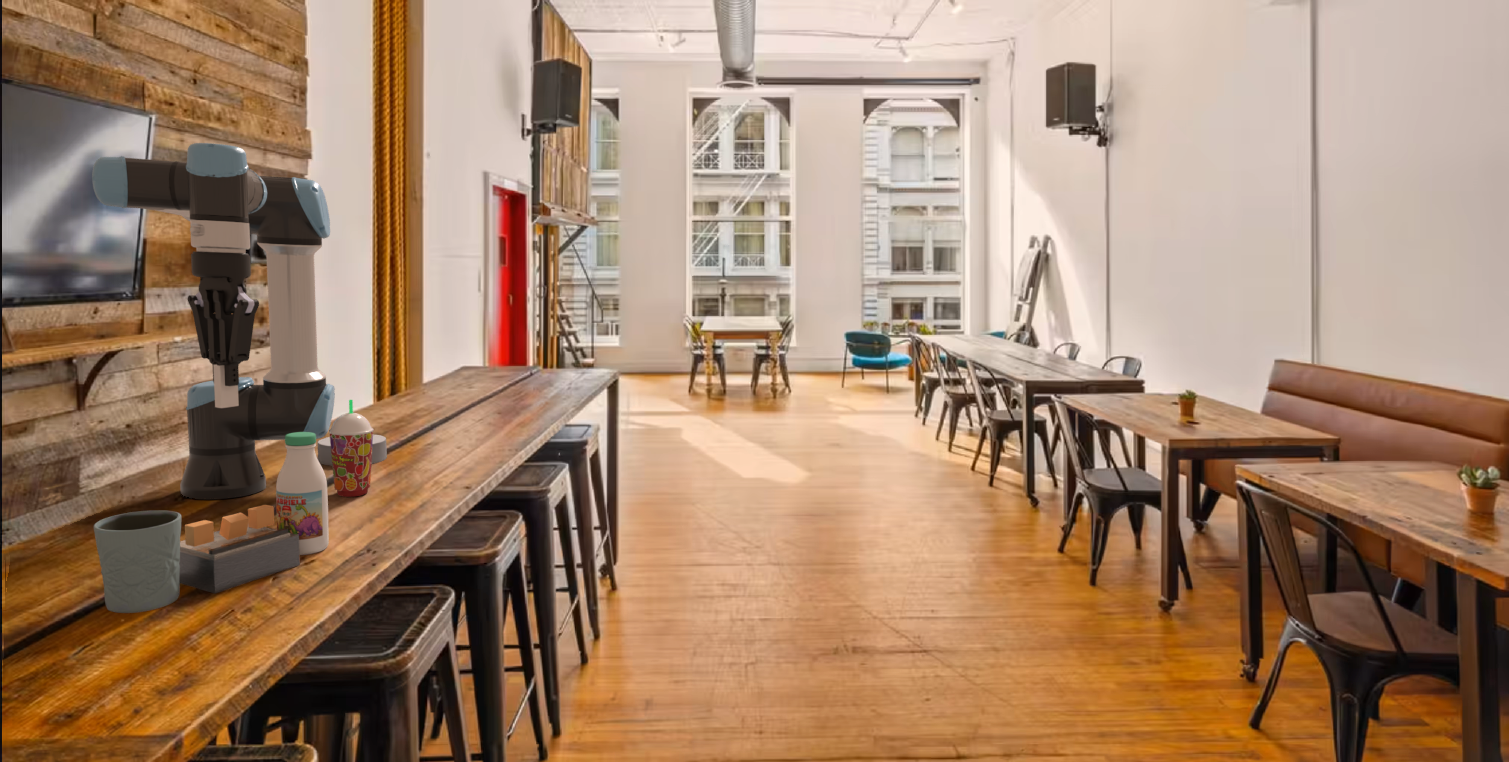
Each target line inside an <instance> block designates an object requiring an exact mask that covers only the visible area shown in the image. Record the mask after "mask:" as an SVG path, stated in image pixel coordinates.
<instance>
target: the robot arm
mask: <svg viewBox="0 0 1509 762" xmlns="http://www.w3.org/2000/svg"><path fill="white" fill-rule="evenodd" d="M186 151H187V156H186V161H177V160H176V161H174V160H173V161H172V160H163V159H162V160H160V159H147V158H136V157H135V158H134V157H125V156H122V155H121V156H101V157H100V158H97V160H96V161H94V164H93V167H92V174H91V177H92V178H91V179H92V181H91V182H92V188H93V191H94V194H95V196H96V199H97V200H98V201H99V202H100V203H101V204H103V205H104V206H108V207H116V208H122V209H129V208H130V209H143V210H147V211H148V210H149V211H157V212H161V213H165V214H166V213H167V214H171V215H177V216H182V218H184V219H185V221H188V222H190V228H189V232H190V246H191V247H192V248H196V250H195V251H192V253H191V254H190V258H191V259H190V260H191V273H192V276H194V277H198V278H200V280H199V284H198V292H197V293H196V294H194V295H193V294H192V295H188V296H187V299H186V300H187V302H188V305H189V307H190V309H191V312H192V317H193V321H194V326H195V327H194V328H195V332H196V336H197V342H198V346H199V351H200V356H201V358H202V359H207V360H209V361H208V362H209V363H210V364H211V365H212V380H210V381H203V382H200V383H196V384H193V385H192V386H191V387H190V388H189V389H188V390H187V393H186V394H187V397H186V398H187V400H186V401H187V403H186V405H187V406H186V407H185V410H186V415H187V416H186V417H187V437H188V452H189V453H188V454H189V457H188V460H187V463H186V465H185V468H184V471H183V474H182V478H181V480H180V495H181V494H182V495H183V496H182V495H181V496H182V497H184V496H186V497H185V498H187V497H189V498H188V499H192V498H195V499H196V500H221V499H222V500H223V499H224V500H225V499H232V498H233V499H234V498H240V497H245V496H249V495H252V494H256V493H260V492H262V491H263V490H265V489H266V488H267V479H266V475H265V472H264V469H263V466H262V465H261V463H260V460H259V458H258V454H257V453H256V441H285V436H286V435H287V434H290V433H295V432H311V433H315V435H316V440H318V439H319V440H320V439H323V438H324V437H325V436H326V435H327V434H328V433H329V430H330V428H331V423H332V418H333V413H334V406H335V390H336V388H335V386H334V385H333V384H331V383H327V375H326V374H325V373H324V372H322V371H321V370H320V369H319V367H318V343H317V339H318V338H317V314H316V313H317V312H316V311H317V309H316V306H317V305H316V303H317V302H316V285H315V284H316V279H315V278H316V276H315V275H316V274H315V254H316V253H317V252H318V251H319V250H320V249H322V248H323V239H328V238H329V237H330V235H331V227H330V226H331V222H330V221H331V220H330V214H329V208H328V203H327V202H328V201H327V199H326V195H325V192H324V190H323V188H322V186H321V185H320V184H319V183H318V181H315V180H313V179H306V178H299V177H296V176H293V177H284V176H270V175H269V176H267V175H258V173H257V172H255V171H254V170H252V169H251V168H250V167H249V164H248V160H247V153H246V151H245V150H244V149H243V148H242V147H238V146H236V145H231V144H222V143H221V144H220V143H209V142H194V143H192V144H190V145H188V147H187V150H186ZM250 235H256V238H257V240H256V241H257V242H256V243H257V245H258V246H259V248H261V249H262V250H264V252H265V254H266V271H267V272H266V274H267V275H266V276H267V277H266V278H267V279H266V280H267V299H268V301H267V303H268V323H269V325H268V326H269V349H270V370H269V371H268V372H266V373H265V375H263V377H262V382H263V383H262V384H255V381H254V379H253V378H252V377H250V376H246V377H245V376H244V377H243V376H240V375H239V371H240V370H239V365H240V364H241V363H243V362H247V361H248V360H249V359H250V354H251V347H252V339H253V332H254V325H255V317H256V313H257V311H258V308H259V306H260V301H259V299H255V298H254V299H252V298H251V297H249V295H248V294H247V290H248V289H247V287H246V284H245V279H248V278H250V277H251V275H252V269H251V268H252V265H251V255H249V253H246V252H247V251H246V250H250V249H251V236H250ZM239 376H240V377H239ZM195 499H194V500H195Z"/></svg>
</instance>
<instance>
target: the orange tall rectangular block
mask: <svg viewBox="0 0 1509 762" xmlns="http://www.w3.org/2000/svg"><path fill="white" fill-rule="evenodd" d="M214 530H215V527H214V521H210V520H206V519H203V520H200V521H196V522H191V523H188V524H187V523H186V524H185V525H184V535H185V536H184V537H185V538H184V540H185V541H186V545H190V546H193V547H195V546H199V545H202V544H206V543H210V542H213V541H214V532H215V531H214Z"/></svg>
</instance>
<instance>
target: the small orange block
mask: <svg viewBox="0 0 1509 762" xmlns="http://www.w3.org/2000/svg"><path fill="white" fill-rule="evenodd" d="M248 523H249V517H248V515H246V514H244V513H243V512H238V513H234V514H229V515H226V516H223V517H221V523H220V528H219V531H220V533H219V534H220V535H221V536H223V537H224V538H226V539H227V540H229V539H233V538H236V537H240V536H243V535H246V533H247V528H248Z"/></svg>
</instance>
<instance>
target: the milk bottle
mask: <svg viewBox="0 0 1509 762" xmlns="http://www.w3.org/2000/svg"><path fill="white" fill-rule="evenodd" d="M284 443H285V446H284V447H285V449H286V455H285V459H284V462H283V464H282V465H281V469H280V471H279V472H278V475H277V479H276V484H275V485H276V488H275V491H276V493H275V500H276V502H275V503H276V505H275V506H276V507H275V508H276V513H275V514H276V530H280V529H283V528H286V529H288V533H292V534H296V535H299V556H304V555H313V554H316V553H319V552H322V551H324V550H326V549H327V548H328V546H329V544H330V543H329V540H330V539H329V537H330V535H329V505H328V504H329V501H328V499H329V498H328V497H329V496H328V482H327V478H326V477H327V476H326V474H325V470H324V469H323V467H322V464H321V463H319V461H318V456H317V454H316V451H315V450H316V449H315V447H317V444H316V443H317V439H316V435H315V433H311V432H295V433H290V434H287V435H286V436H285V440H284Z"/></svg>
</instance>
